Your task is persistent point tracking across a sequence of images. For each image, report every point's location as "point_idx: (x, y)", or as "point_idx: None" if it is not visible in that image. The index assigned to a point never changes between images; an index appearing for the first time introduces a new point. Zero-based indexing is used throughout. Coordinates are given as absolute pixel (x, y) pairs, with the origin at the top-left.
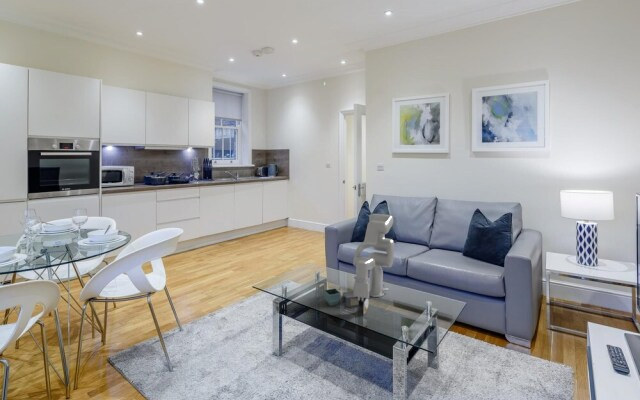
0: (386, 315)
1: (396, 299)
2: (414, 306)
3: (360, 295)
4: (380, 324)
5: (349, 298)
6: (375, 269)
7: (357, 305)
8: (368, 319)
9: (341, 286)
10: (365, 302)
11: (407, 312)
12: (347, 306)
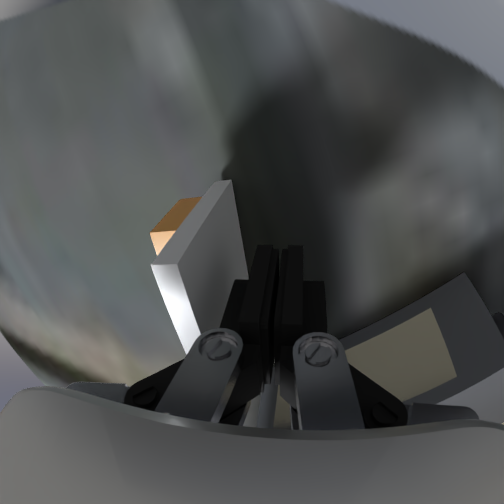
0: (55, 257)
1: None
2: (51, 380)
3: (213, 502)
4: (21, 79)
5: (473, 370)
6: None
7: (357, 339)
8: (131, 89)
9: None
10: (179, 330)
11: (24, 327)
12: (458, 284)
